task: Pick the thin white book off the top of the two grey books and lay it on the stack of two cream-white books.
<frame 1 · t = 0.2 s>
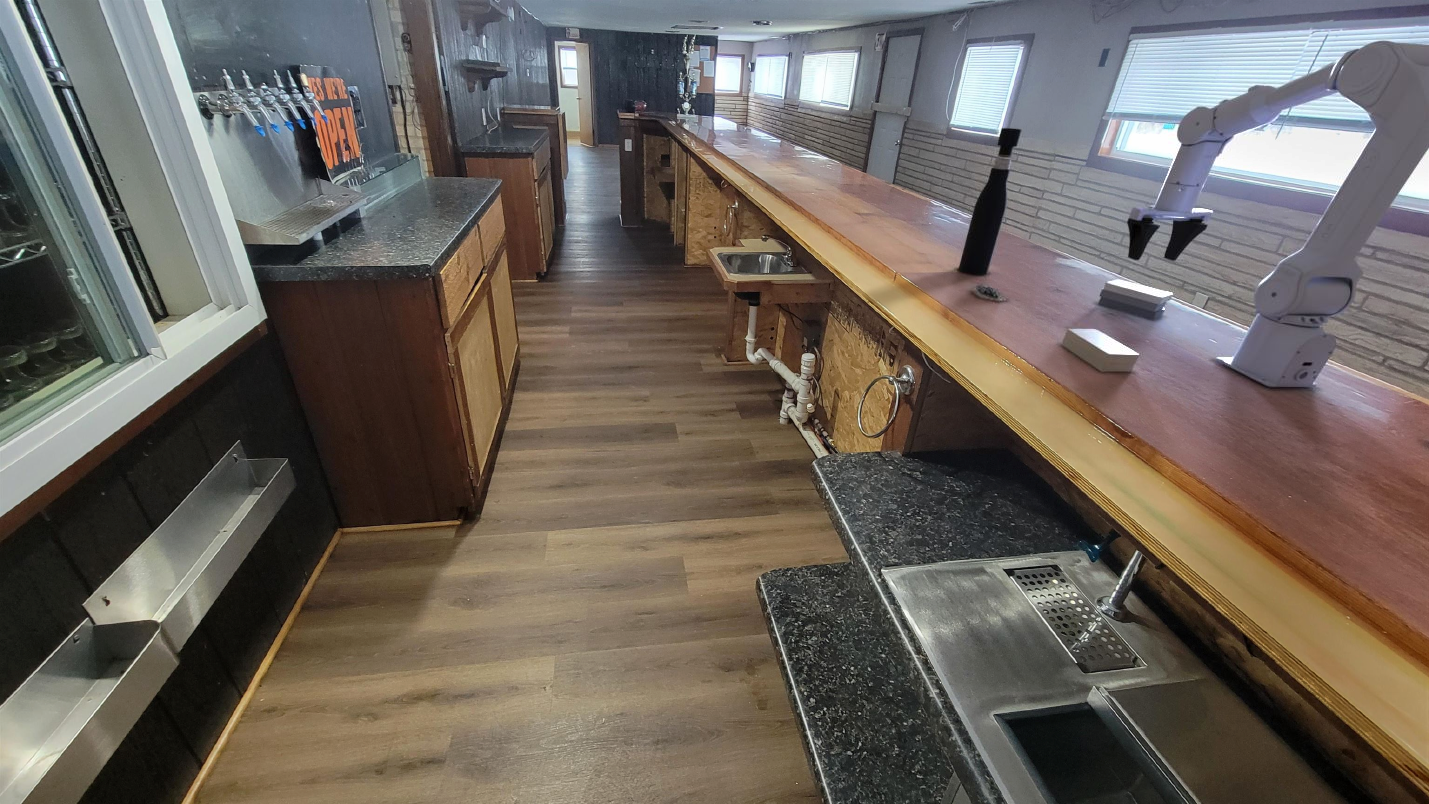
hand: (1151, 259, 107), 10 cm above the counter, tool pointing down, fingers open, 7 cm apart
wine bottle: (972, 272, 131), on the counter
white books: (1094, 357, 90), on the counter
white book: (1135, 294, 110), point 3 cm above the counter, touching grey books
grey books: (1129, 310, 112), on the counter
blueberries: (988, 296, 116), on the counter
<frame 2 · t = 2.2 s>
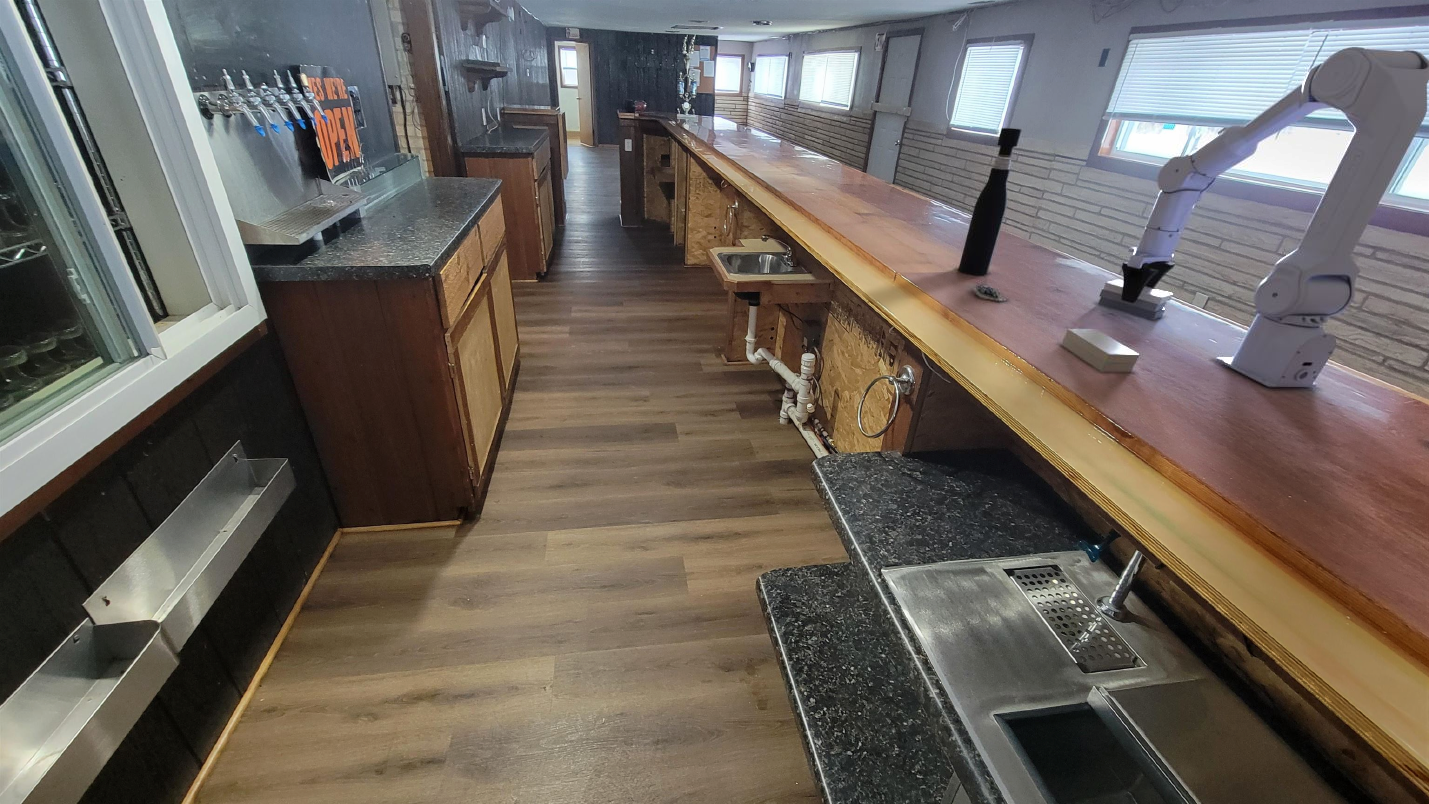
hand: (1134, 299, 110), 2 cm above the counter, tool pointing down, fingers closed on white book, 5 cm apart
white book: (1135, 294, 110), point 3 cm above the counter, touching grey books, gripper
everything else where it was.
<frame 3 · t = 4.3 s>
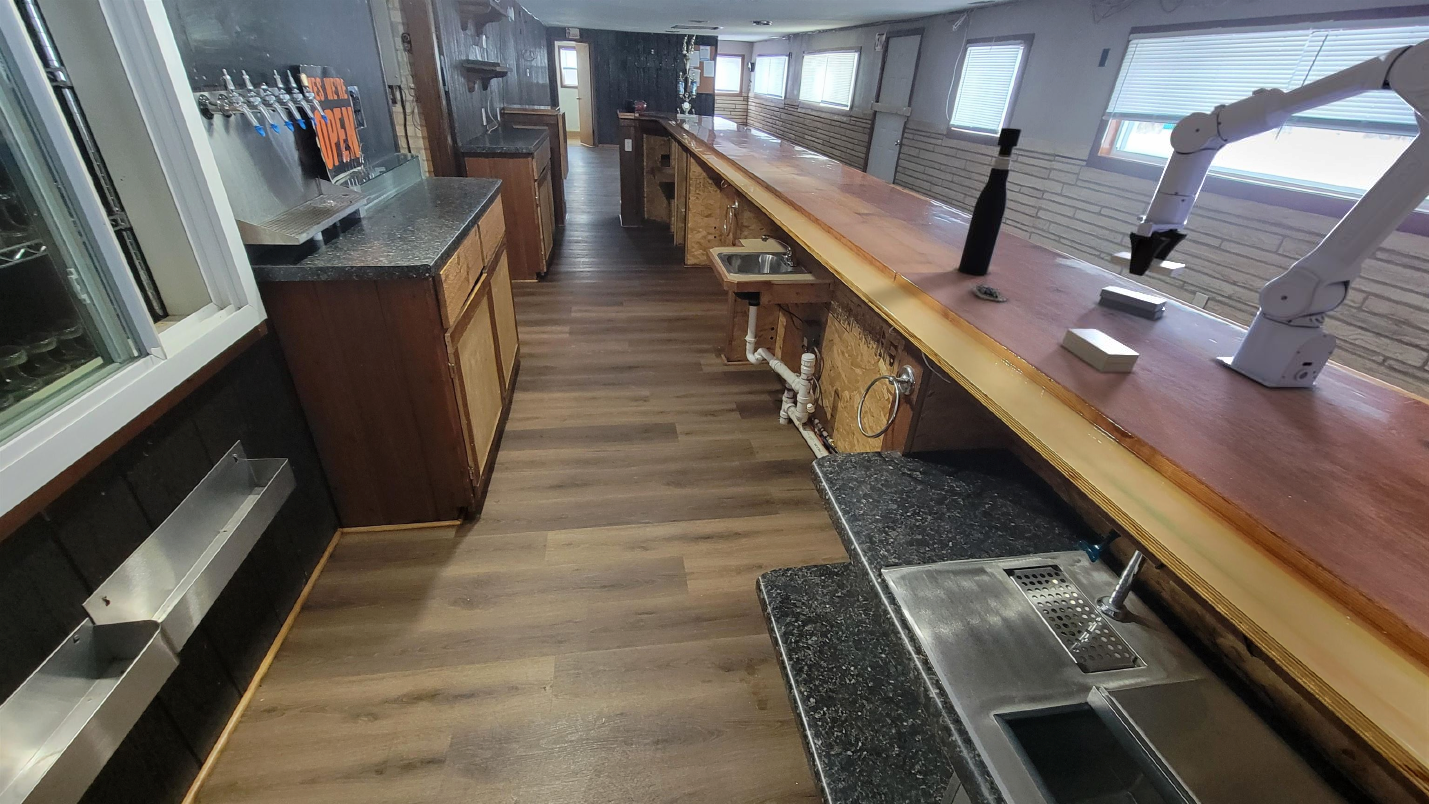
hand: (1142, 272, 102), 9 cm above the counter, tool pointing down, fingers closed on white book, 5 cm apart
white book: (1144, 267, 101), point 10 cm above the counter, touching gripper
everything else where it was.
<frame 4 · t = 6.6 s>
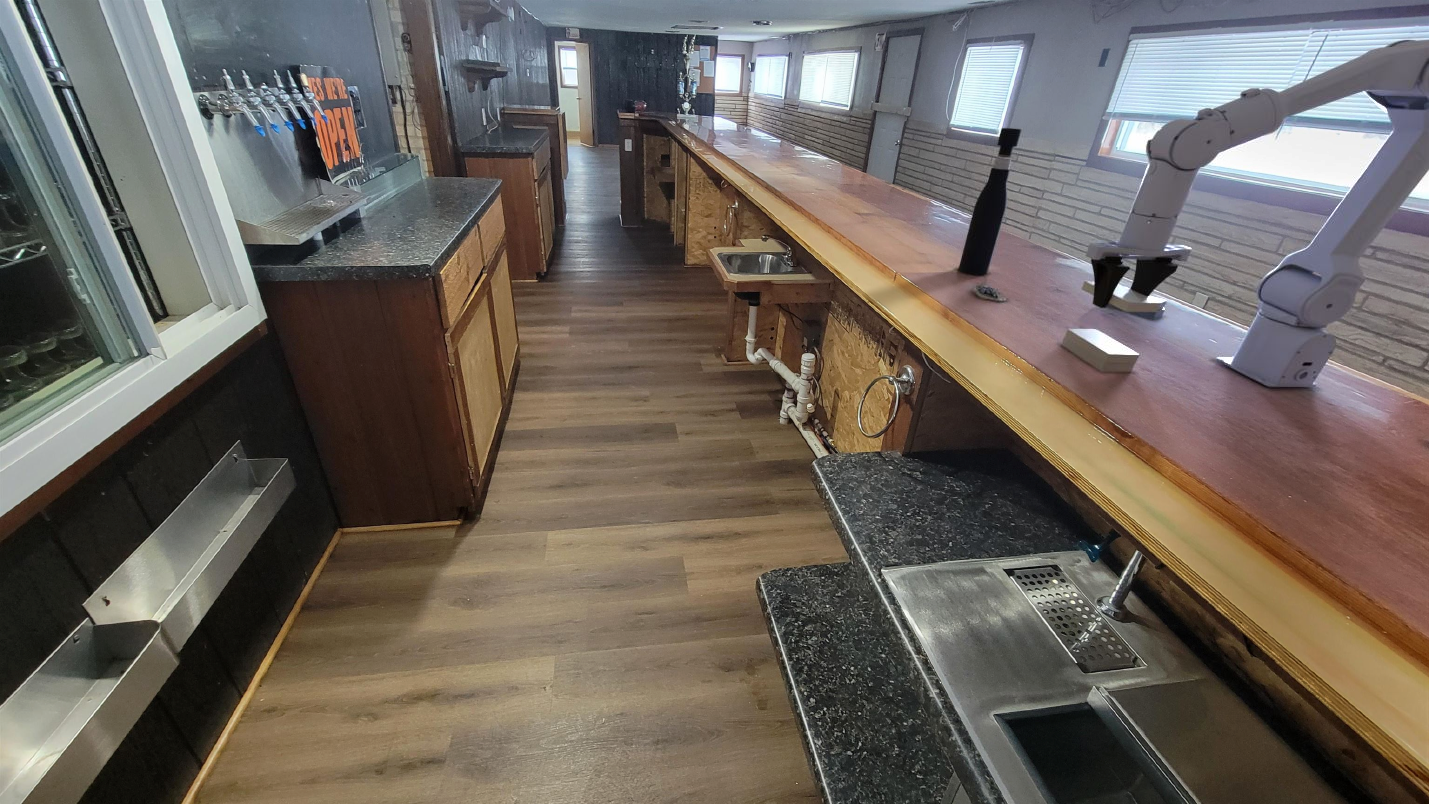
hand: (1115, 306, 86), 9 cm above the counter, tool pointing down, fingers closed on white book, 5 cm apart
white book: (1117, 300, 86), point 10 cm above the counter, touching gripper
everything else where it was.
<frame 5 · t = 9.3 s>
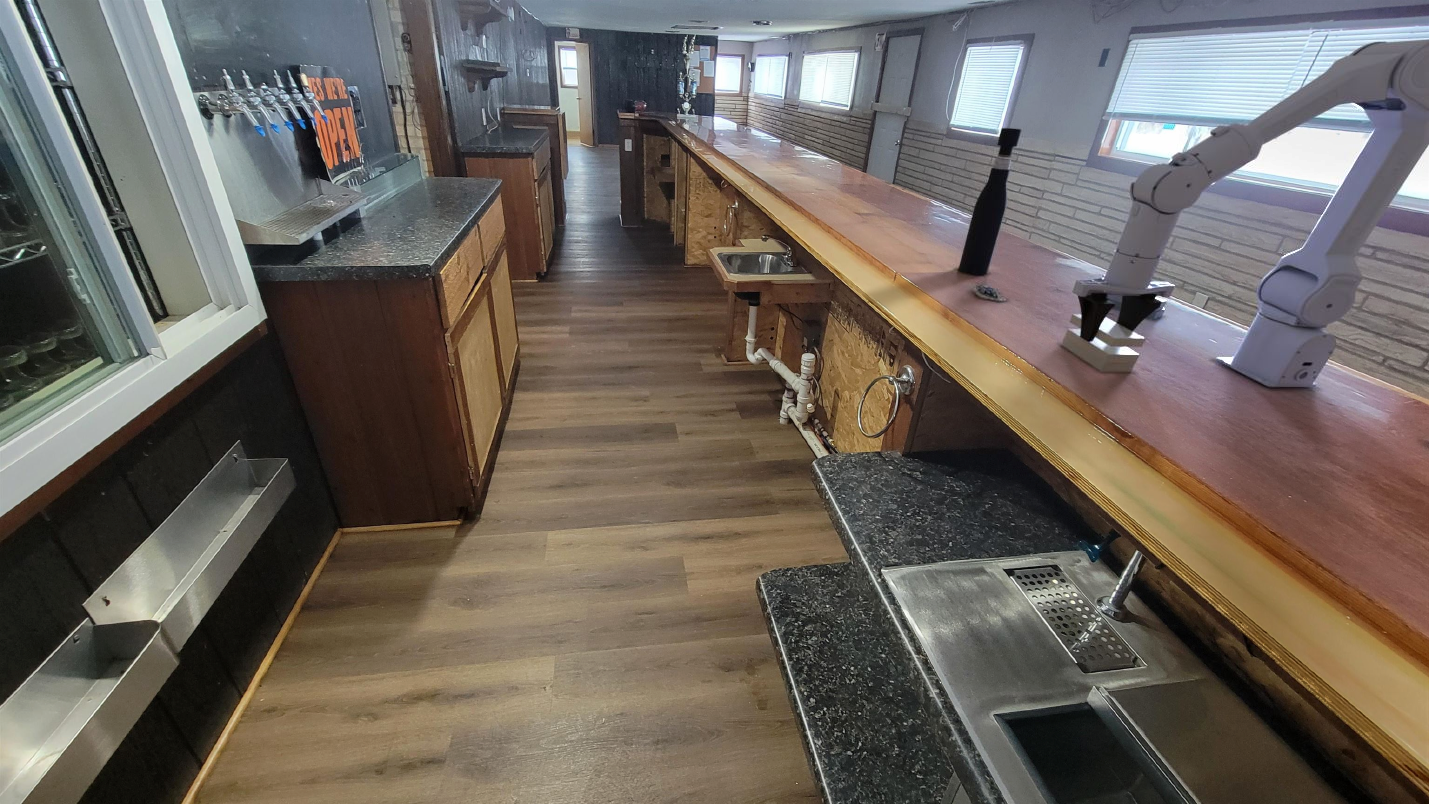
hand: (1102, 339, 89), 3 cm above the counter, tool pointing down, fingers closed on white book, 5 cm apart
white book: (1103, 333, 89), point 4 cm above the counter, touching gripper
everything else where it was.
when the fingers open (3 cm above the counter, at t = 10.9 s): white book stays where it is, resting on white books.
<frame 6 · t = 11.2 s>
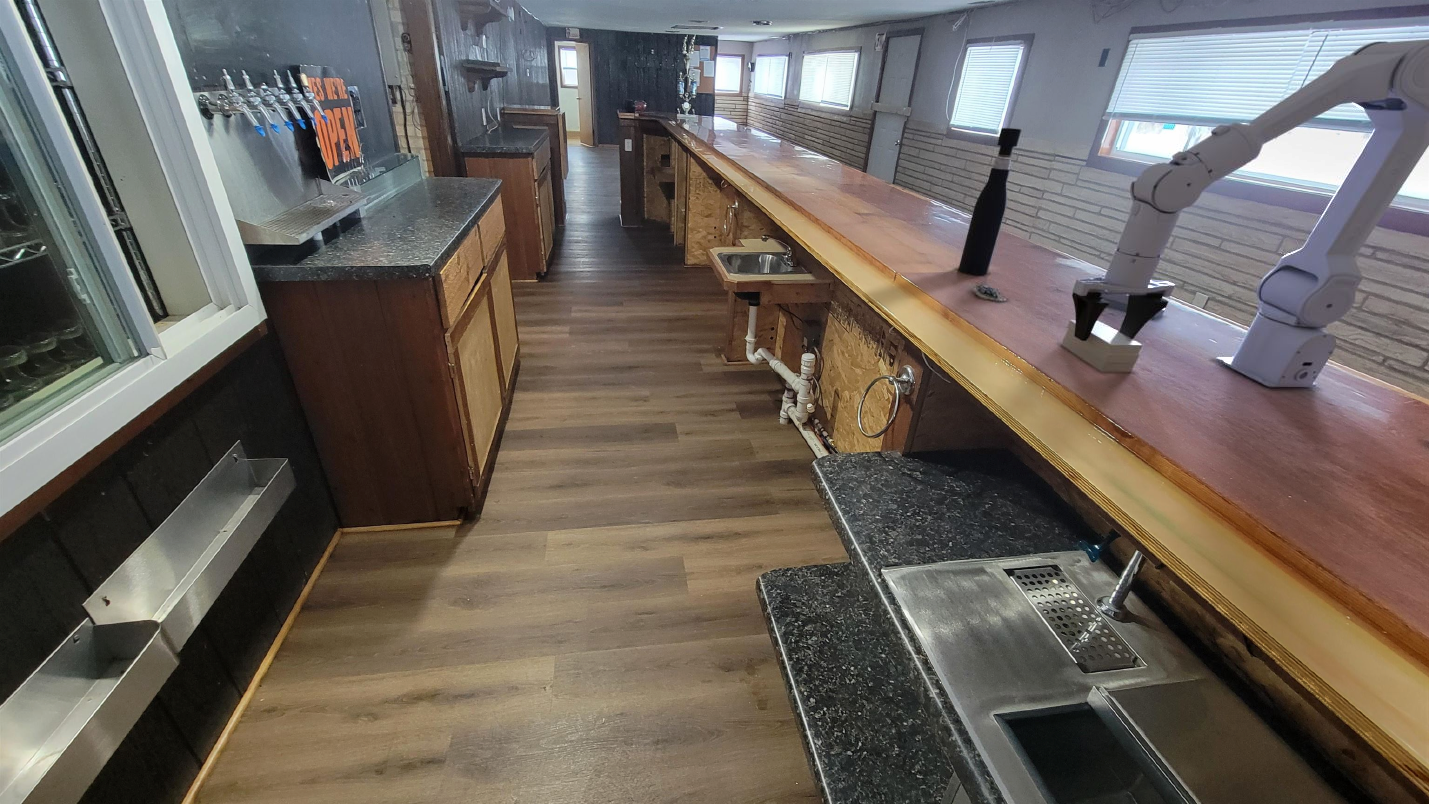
hand: (1102, 338, 89), 3 cm above the counter, tool pointing down, fingers open, 7 cm apart
white book: (1101, 340, 89), point 3 cm above the counter, touching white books
everything else where it was.
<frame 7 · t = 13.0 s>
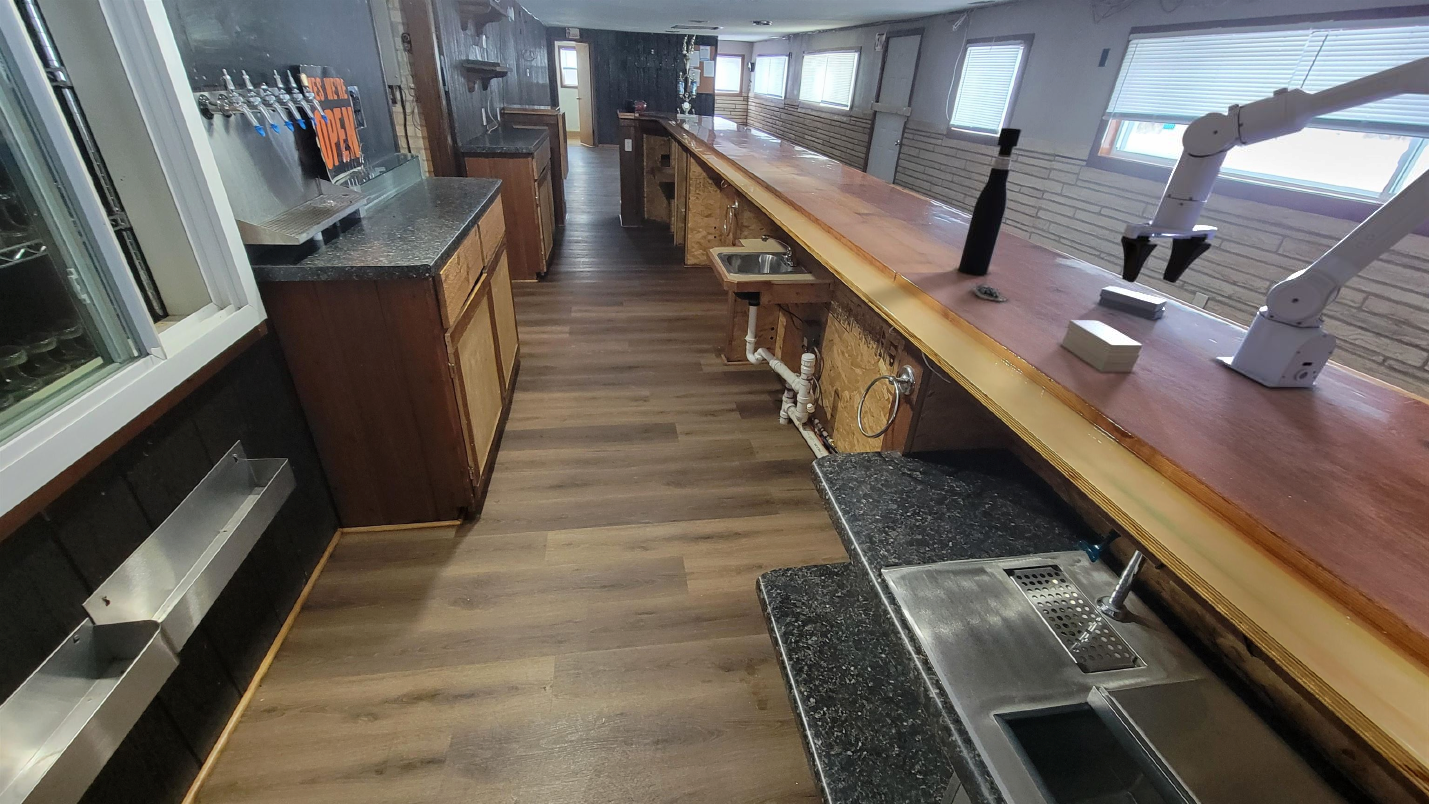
hand: (1148, 280, 96), 9 cm above the counter, tool pointing down, fingers open, 7 cm apart
nothing on the counter moved.
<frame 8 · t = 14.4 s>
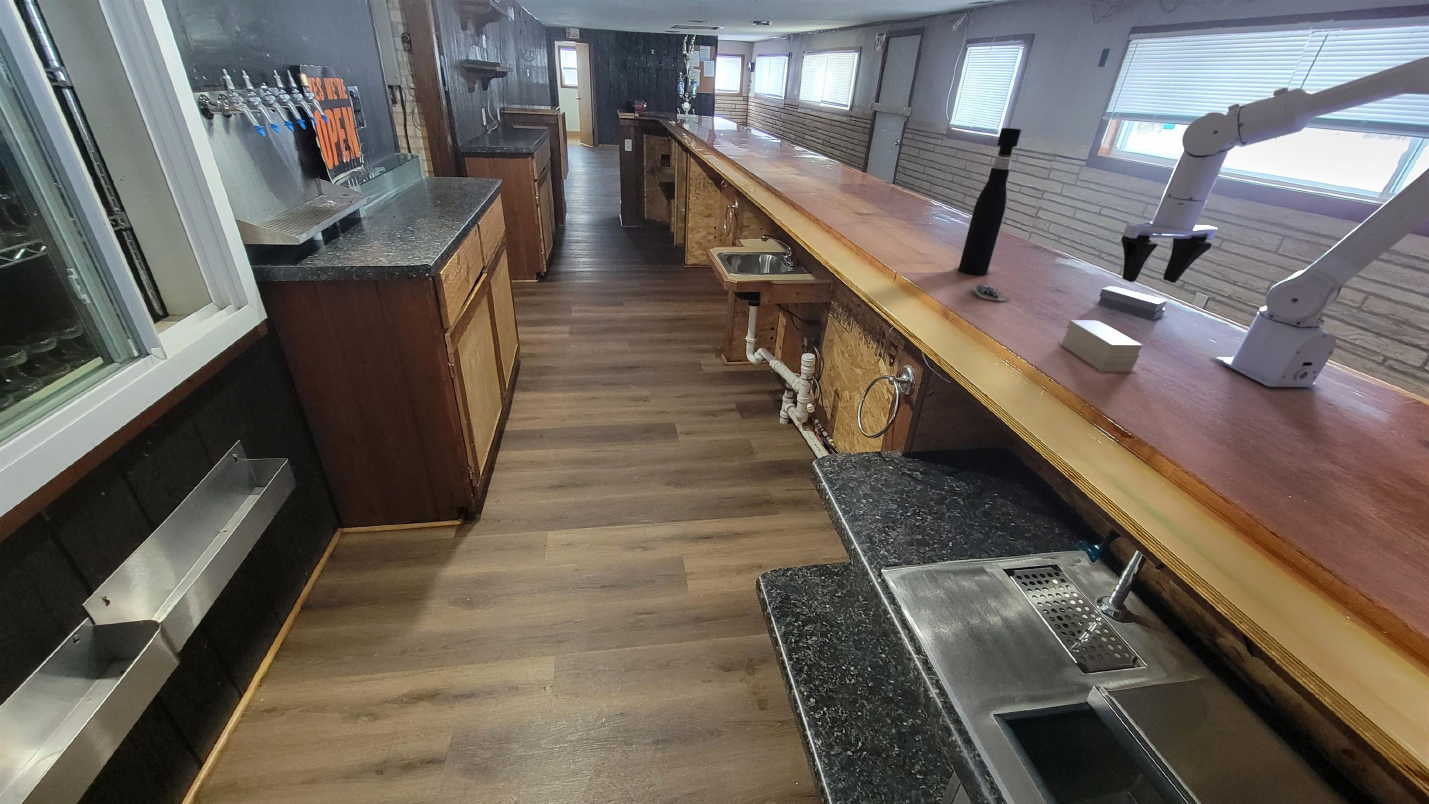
hand: (1148, 280, 97), 9 cm above the counter, tool pointing down, fingers open, 7 cm apart
nothing on the counter moved.
at the end: white book 0.1 cm off-centre on the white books, point 3.0 cm above the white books's base; white book tilted 0°; the gripper is holding nothing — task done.
